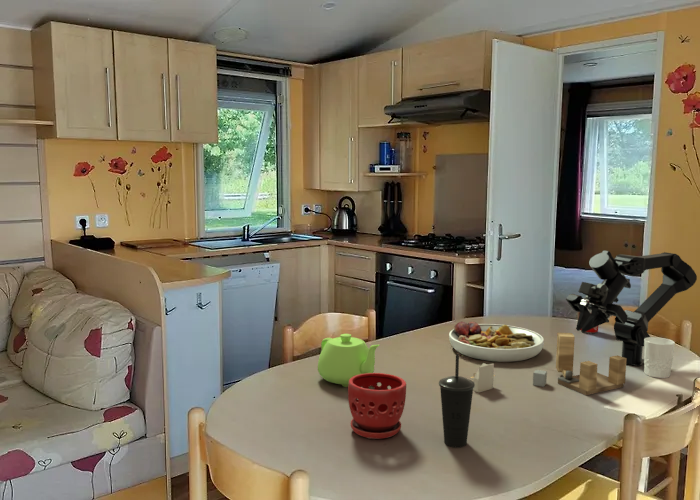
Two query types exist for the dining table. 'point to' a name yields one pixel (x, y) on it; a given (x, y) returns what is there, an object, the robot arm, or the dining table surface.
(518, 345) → the bowl
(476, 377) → the architectural model
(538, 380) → the block
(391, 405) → the plant pot
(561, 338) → the folding leg
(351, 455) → the dining table surface
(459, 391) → the drinking cup
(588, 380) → the stool seat
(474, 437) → the dining table surface
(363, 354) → the teapot
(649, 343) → the white cup
